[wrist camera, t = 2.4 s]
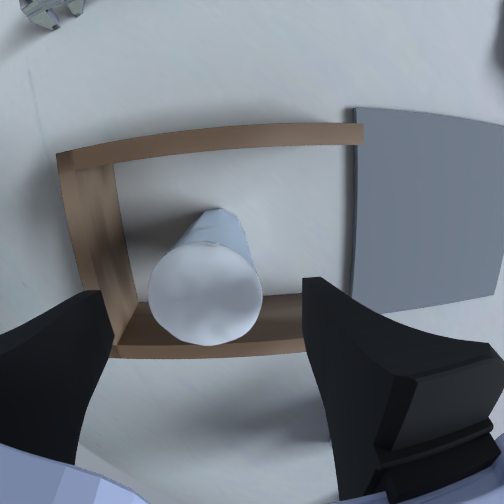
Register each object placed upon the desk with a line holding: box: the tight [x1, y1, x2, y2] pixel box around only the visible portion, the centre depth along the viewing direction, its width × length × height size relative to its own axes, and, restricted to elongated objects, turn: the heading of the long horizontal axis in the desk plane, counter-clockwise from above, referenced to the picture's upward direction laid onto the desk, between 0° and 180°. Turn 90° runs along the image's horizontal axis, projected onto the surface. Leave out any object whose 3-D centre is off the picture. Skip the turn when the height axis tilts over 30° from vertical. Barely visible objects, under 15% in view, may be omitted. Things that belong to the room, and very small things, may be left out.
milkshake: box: [148, 209, 263, 346], centre depth 15 cm, size 5×5×10 cm
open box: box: [56, 123, 364, 359], centre depth 18 cm, size 12×14×5 cm
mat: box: [349, 108, 504, 314], centre depth 20 cm, size 14×14×1 cm
